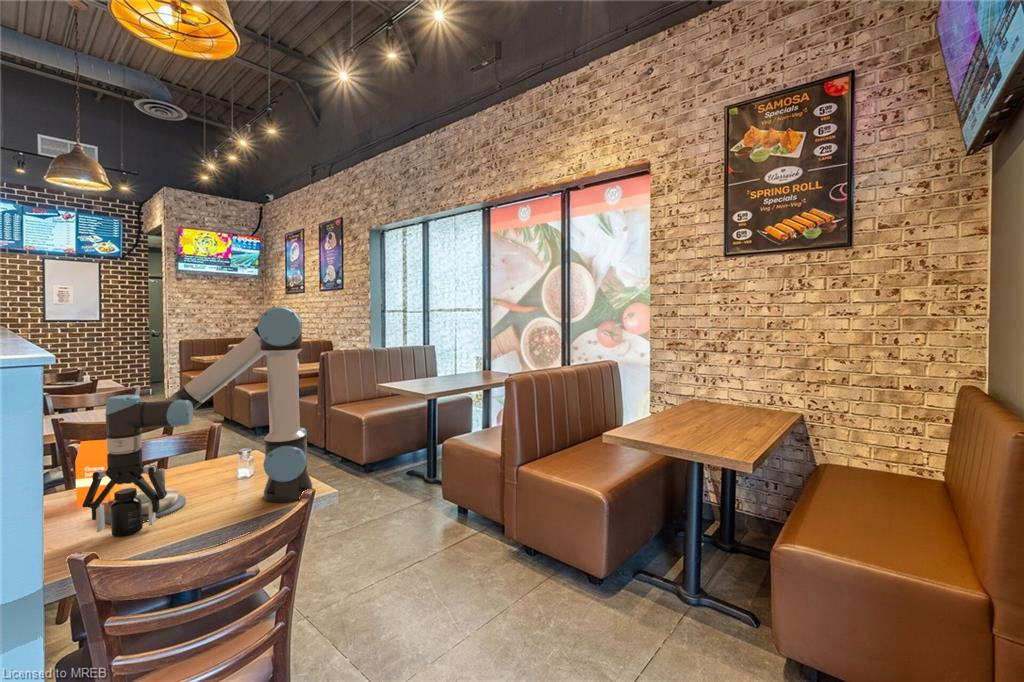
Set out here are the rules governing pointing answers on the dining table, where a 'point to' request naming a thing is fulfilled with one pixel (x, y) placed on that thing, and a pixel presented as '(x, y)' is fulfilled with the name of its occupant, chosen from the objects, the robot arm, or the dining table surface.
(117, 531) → the supplement bottle
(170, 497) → the turntable
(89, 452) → the orange juice
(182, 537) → the dining table surface
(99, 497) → the robot arm
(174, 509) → the base
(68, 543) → the dining table surface
